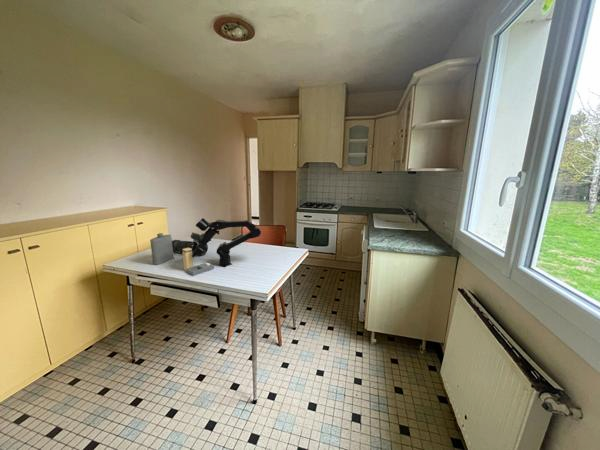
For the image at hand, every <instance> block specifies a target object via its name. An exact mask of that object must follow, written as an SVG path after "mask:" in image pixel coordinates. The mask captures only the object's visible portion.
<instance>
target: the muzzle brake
mask: <svg viewBox="0 0 600 450" xmlns="http://www.w3.org/2000/svg"><path fill="white" fill-rule="evenodd" d="M193 244H194V243H193V240H192V241H190V240H189V241H188V240H181V239H172V247H173V253H179V254H182V255H183V252H182V249H185V248H192V246H193ZM206 245H207V248H208V249H209V246H208V243H207V244H206ZM207 252H208V250H207V251H206V252H205V251H204V252H203V253H201V254H198V255H197V256H205V255H206V254H207ZM193 253H194V251H193V252H192V254H193Z"/></svg>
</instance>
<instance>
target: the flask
mask: <svg viewBox="0 0 600 450" xmlns="http://www.w3.org/2000/svg"><path fill="white" fill-rule="evenodd" d="M172 240H173V239H172V234H163V232H158V233H157V234H156V236H155V237H152V238H151V239H150V250H151V257H152V264H153V265H154V266H159V265H162V264H164V263H166V262H169V261H172V260H174V252H173V247H172Z"/></svg>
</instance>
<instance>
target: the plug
mask: <svg viewBox="0 0 600 450" xmlns="http://www.w3.org/2000/svg"><path fill="white" fill-rule="evenodd" d="M182 252H183V254H182V259H183V268H184V271H185V272H187V271H186V269H187V268H190V267H193V266H194V259H193V258H194V257H192V249H191V248H185V249H182Z"/></svg>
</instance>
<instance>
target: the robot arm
mask: <svg viewBox="0 0 600 450" xmlns="http://www.w3.org/2000/svg"><path fill="white" fill-rule="evenodd" d="M195 227H196V228H198V229H200V231H202V232H204V233H201V234H199V233H196V232H191V234H190V239H192V242H193V243H194V244H193V245H192V248H191V249H192V252H193V251H194V253H193V254H192V257H193V258H194V257H196V256H199V255H198V254H201V253H203V252H204V251H205V252H206V251H207V252H208V250H209V247H208V248H207V245H208V244H209V242H212V239H213V238H214V237H215V235H216V234H217V236H218V235H220V230H224V229H229V228H241V227H243V228H245V227H246V229H248V232H247V233H245V234H242V235H240V236H238V237H237V238H235V239H234V240H232V241H230V242H226V241H224V242H222V243H219V246H218V247H217V249H216V254H217V255H218V256H219V259H218V261H219V263H218V266H221V267H223V268H225V267H227V266H232V265H233V263H232V262H231V254H230V253H231V249H232V248H235V247H237V246H239V245H241V244H243V243H244V242H247V241H248V240H251V239H255V238H258V237H260V236H261V234H262V230H261V228H260V227H259V226H256V225H255V224H254V223H252V222H251V221H250V220H249V219H246V220H223V219H216V220H215V221H212V222H208V221H207V220H206V219H205V218H204V217H202V218H201V219H199V221H198V222H197V223H196V224H195ZM206 244H207V245H206ZM207 252H206V253H207Z"/></svg>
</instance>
